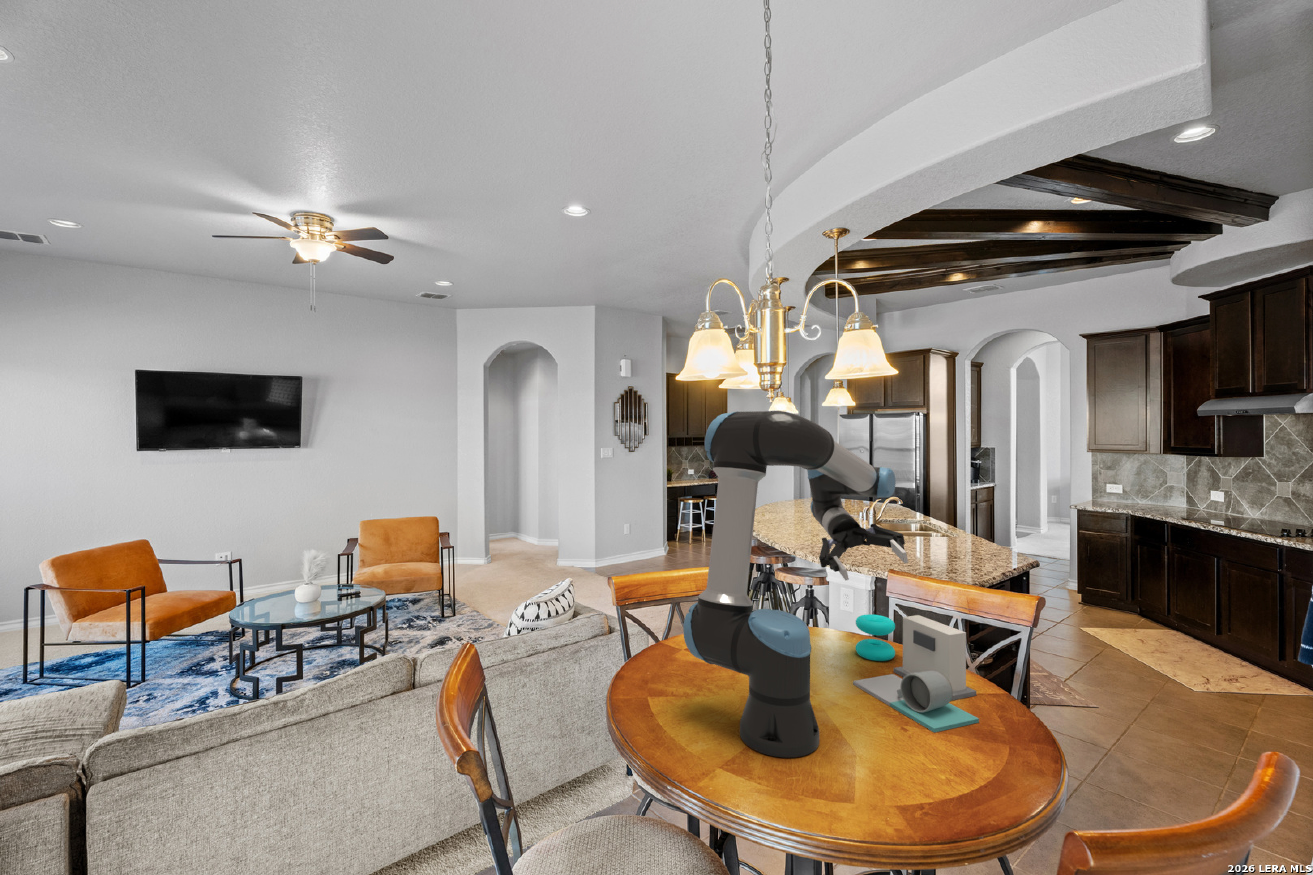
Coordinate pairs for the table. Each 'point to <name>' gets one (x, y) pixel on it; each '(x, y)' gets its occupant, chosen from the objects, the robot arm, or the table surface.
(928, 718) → the mat
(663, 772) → the table surface
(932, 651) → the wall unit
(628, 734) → the table surface
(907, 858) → the table surface
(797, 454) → the robot arm
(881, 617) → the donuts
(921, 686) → the ceramic mug
